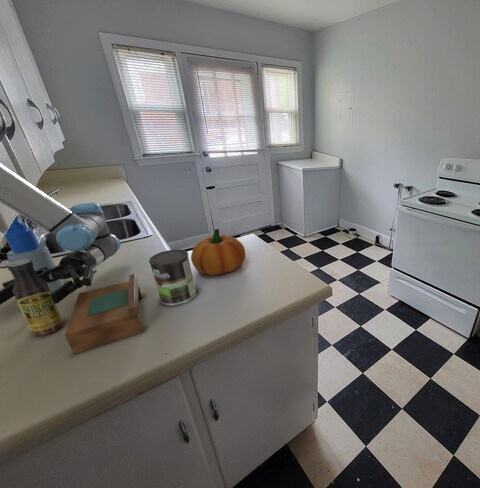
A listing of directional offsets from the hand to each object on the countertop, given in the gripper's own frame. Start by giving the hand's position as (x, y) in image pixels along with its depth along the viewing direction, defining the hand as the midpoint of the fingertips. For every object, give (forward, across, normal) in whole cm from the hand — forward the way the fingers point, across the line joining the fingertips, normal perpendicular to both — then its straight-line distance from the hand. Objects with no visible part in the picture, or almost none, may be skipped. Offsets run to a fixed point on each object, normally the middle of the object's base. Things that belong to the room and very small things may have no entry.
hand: (22, 301), depth 65 cm
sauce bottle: (-3, 0, -11) cm, 11 cm away
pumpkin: (-33, -38, -11) cm, 51 cm away
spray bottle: (-25, +17, -11) cm, 32 cm away
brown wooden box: (-4, -15, -11) cm, 19 cm away
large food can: (-14, -29, -11) cm, 34 cm away
